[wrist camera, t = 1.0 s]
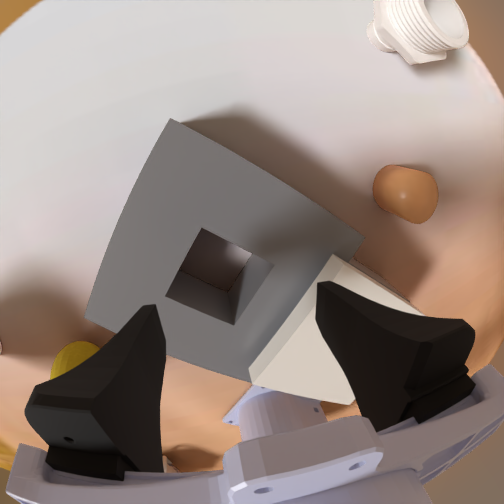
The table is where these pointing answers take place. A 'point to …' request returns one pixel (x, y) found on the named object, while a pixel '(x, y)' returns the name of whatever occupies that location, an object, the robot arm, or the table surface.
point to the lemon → (72, 357)
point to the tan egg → (406, 193)
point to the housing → (229, 228)
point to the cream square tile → (316, 341)
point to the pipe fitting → (418, 28)
